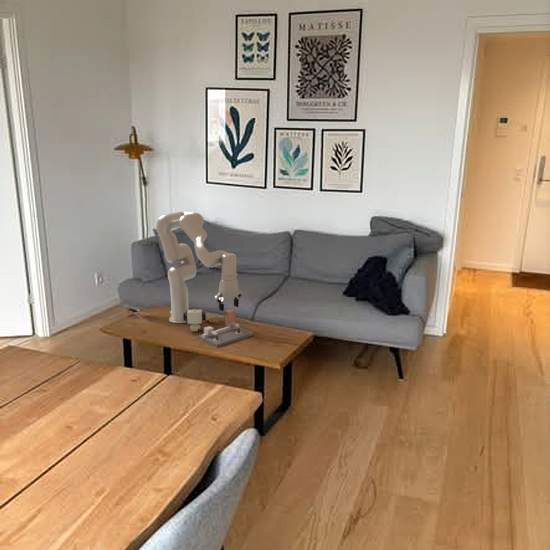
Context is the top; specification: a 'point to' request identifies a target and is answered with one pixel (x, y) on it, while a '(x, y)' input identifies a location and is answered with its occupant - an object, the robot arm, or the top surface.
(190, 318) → the pneumatic valve
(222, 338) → the plate
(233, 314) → the sliding leg
